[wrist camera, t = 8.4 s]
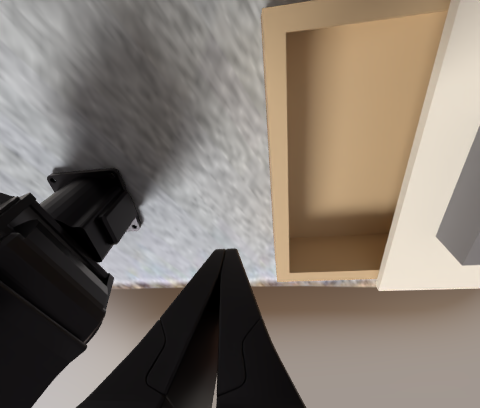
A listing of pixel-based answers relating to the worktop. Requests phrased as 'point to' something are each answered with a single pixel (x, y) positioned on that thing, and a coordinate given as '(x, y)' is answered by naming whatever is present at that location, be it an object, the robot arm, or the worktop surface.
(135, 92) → the worktop surface
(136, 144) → the worktop surface
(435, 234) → the lid
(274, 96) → the box
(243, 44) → the worktop surface
